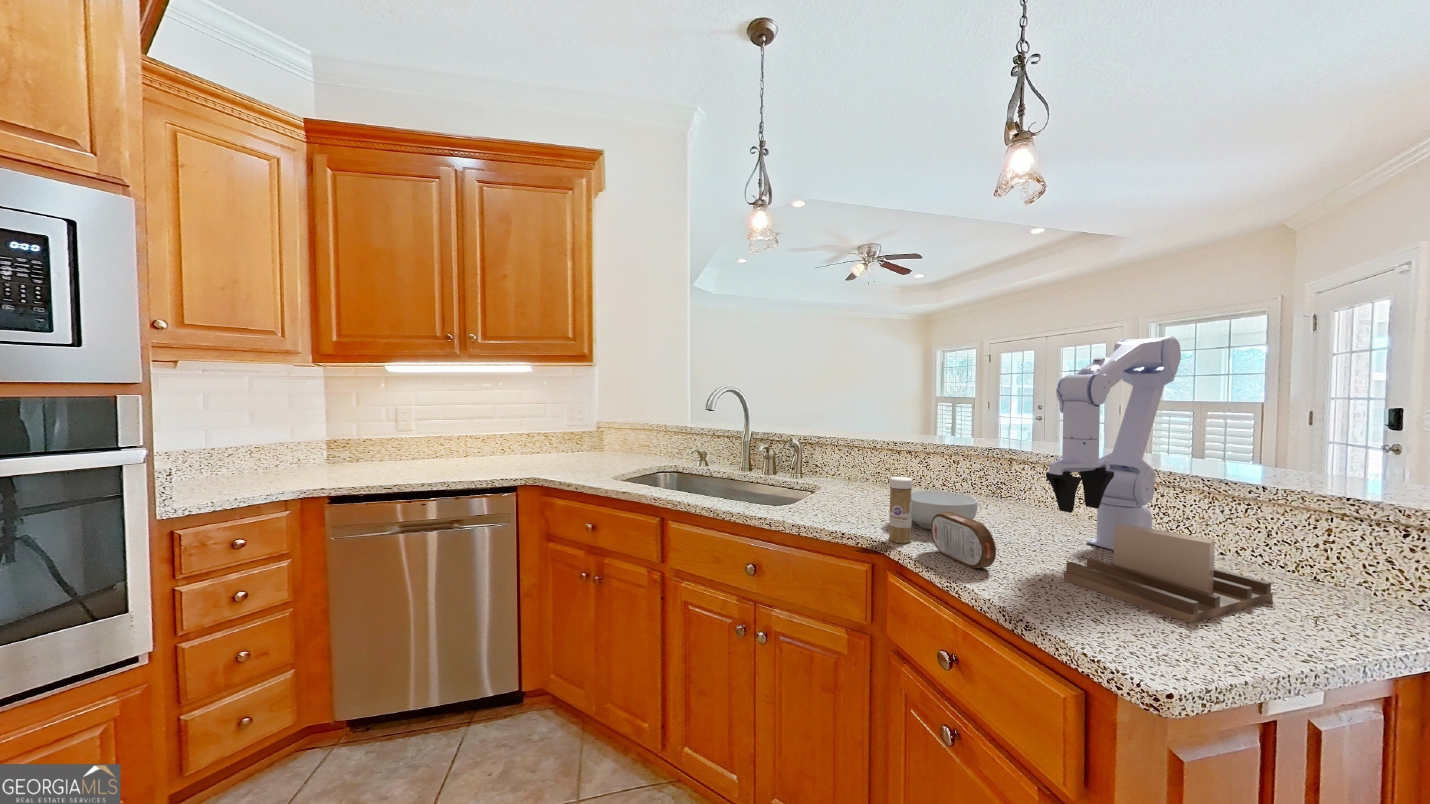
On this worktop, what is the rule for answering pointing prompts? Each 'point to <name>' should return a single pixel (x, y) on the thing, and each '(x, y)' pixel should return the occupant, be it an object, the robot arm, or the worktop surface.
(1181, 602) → the rack
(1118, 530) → the beige rectangular board
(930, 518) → the cereal bowl
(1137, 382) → the robot arm
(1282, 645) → the worktop surface
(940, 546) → the tin
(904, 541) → the sprinkles bottle
